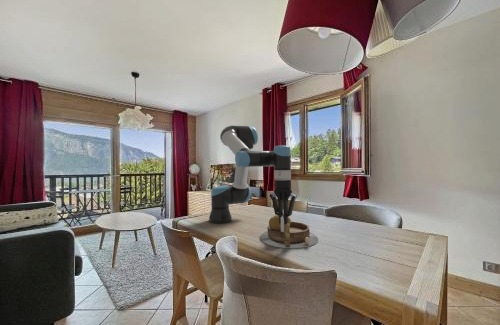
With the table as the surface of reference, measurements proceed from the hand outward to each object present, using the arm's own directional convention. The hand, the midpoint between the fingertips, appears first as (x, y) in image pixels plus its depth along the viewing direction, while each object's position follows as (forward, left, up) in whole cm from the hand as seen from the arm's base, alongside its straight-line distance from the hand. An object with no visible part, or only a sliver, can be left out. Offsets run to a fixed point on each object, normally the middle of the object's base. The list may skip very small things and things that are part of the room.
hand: (283, 230), depth 105 cm
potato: (0, +7, -1) cm, 7 cm away
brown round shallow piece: (0, +10, -6) cm, 12 cm away
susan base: (0, +13, -7) cm, 14 cm away
